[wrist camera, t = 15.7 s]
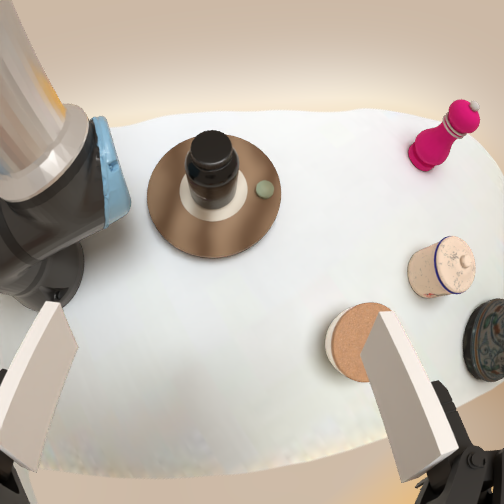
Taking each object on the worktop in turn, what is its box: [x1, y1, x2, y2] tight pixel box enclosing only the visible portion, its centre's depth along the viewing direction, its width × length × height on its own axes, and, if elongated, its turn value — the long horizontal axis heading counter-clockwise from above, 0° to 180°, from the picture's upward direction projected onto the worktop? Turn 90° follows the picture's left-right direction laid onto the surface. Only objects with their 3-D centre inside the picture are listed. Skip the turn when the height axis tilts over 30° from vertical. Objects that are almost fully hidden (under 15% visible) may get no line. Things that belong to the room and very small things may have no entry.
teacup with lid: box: [408, 236, 476, 298], centre depth 43 cm, size 12×9×12 cm
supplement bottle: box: [185, 130, 239, 210], centre depth 39 cm, size 7×7×12 cm
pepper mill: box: [408, 100, 480, 171], centre depth 44 cm, size 7×7×20 cm
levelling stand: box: [147, 135, 281, 258], centre depth 46 cm, size 20×20×4 cm
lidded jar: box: [325, 303, 391, 382], centre depth 40 cm, size 11×11×9 cm
